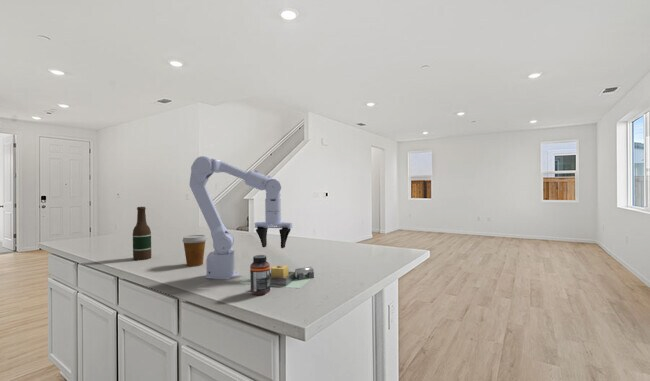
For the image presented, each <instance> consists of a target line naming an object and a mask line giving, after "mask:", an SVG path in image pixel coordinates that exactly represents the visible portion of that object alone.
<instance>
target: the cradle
mask: <svg viewBox="0 0 650 381" xmlns="http://www.w3.org/2000/svg"><path fill="white" fill-rule="evenodd" d="M295 279H296V272H295V271H289V275H288V276H287V277H285V278H284V277H271V273H270V285H279V286H287V285H289V284H290V283H291V282H292V281H294V280H295Z"/></svg>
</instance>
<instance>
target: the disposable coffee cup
mask: <svg viewBox="0 0 650 381" xmlns="http://www.w3.org/2000/svg"><path fill="white" fill-rule="evenodd" d="M207 239H208V238H207V237H206V235H205V234H192V235H185V236H183V238H182V243H183V247H184V248H183V249H184V254H185V255H184V256H185V260H186V266H187V267H199V266H202V265H204V259H205V258H204V256H205V249H206V248H205V247H206V241H207Z"/></svg>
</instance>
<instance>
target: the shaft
mask: <svg viewBox="0 0 650 381" xmlns="http://www.w3.org/2000/svg"><path fill="white" fill-rule="evenodd" d="M294 272H296V279H298V280H303V279H304V276H306V277H307V278H309V279H310V278H311V279H314V278H315V276H314V275H315V272H314V267H312V266H307V267H299V268H295V269H294ZM311 279H310V280H311Z"/></svg>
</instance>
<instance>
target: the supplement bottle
mask: <svg viewBox="0 0 650 381" xmlns="http://www.w3.org/2000/svg"><path fill="white" fill-rule="evenodd" d="M249 268H250V270H249V273H250V274H249V275H250V276H249V277H251V284H250V293H251V294H252V295H255V296H262V295H263V296H264V295H267V294H268V293H270V292H271V286H270V272H271V266H270V263H269V262H268V261H267V255H264V254H257V255H254V256H253V258H252V263H250V266H249Z"/></svg>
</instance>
